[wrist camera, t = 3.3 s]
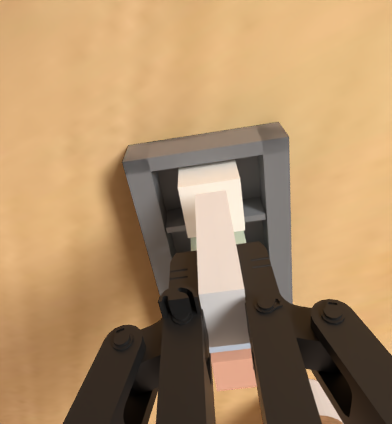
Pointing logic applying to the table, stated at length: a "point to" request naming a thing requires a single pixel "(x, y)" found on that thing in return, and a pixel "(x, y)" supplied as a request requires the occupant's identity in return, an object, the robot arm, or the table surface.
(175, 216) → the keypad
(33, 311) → the table surface
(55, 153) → the table surface
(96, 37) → the table surface
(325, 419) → the coffee cup
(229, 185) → the key cream
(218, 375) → the key terracotta
